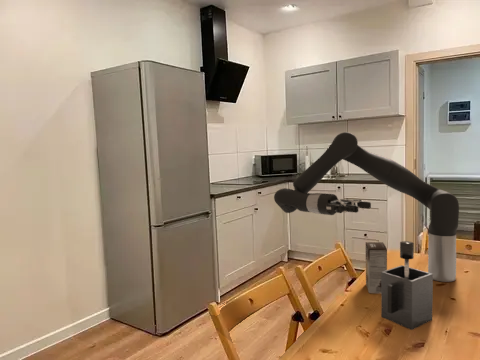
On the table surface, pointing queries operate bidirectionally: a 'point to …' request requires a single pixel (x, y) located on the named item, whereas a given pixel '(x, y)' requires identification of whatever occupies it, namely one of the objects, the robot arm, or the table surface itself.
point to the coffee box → (375, 265)
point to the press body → (406, 297)
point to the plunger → (406, 255)
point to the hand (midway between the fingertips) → (364, 207)
